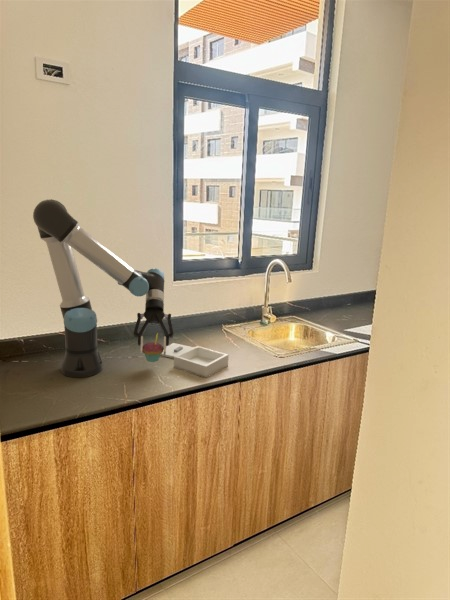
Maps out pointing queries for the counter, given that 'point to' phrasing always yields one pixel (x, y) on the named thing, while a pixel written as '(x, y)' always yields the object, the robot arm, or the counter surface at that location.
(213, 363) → the bin
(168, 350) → the bin lid
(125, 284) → the robot arm
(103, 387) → the counter surface
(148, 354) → the cupcake
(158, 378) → the counter surface
